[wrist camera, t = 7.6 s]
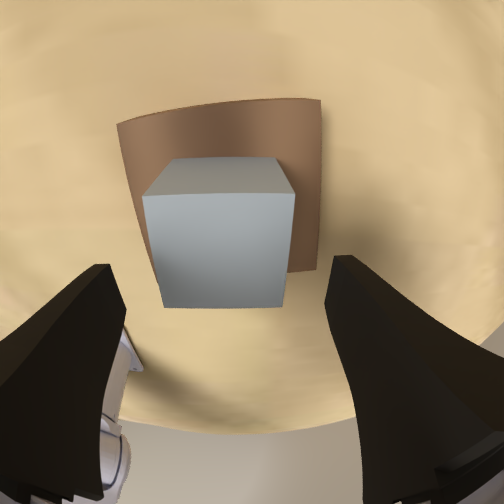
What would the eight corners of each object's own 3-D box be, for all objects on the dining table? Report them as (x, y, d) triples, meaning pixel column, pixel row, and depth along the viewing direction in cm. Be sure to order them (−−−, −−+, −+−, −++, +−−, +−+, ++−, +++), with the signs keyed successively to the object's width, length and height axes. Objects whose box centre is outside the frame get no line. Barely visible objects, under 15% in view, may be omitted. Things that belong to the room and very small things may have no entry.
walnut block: (169, 249, 20) (157, 283, 17) (141, 115, 15) (116, 124, 11) (302, 237, 20) (315, 269, 17) (301, 97, 15) (320, 100, 11)
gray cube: (181, 245, 15) (164, 307, 11) (172, 159, 13) (141, 196, 8) (269, 244, 16) (282, 307, 11) (275, 157, 13) (295, 193, 9)
